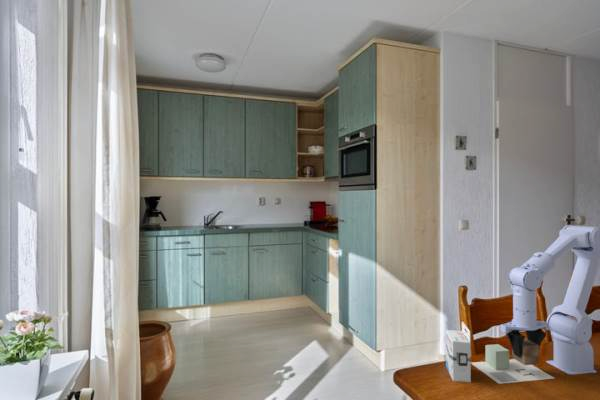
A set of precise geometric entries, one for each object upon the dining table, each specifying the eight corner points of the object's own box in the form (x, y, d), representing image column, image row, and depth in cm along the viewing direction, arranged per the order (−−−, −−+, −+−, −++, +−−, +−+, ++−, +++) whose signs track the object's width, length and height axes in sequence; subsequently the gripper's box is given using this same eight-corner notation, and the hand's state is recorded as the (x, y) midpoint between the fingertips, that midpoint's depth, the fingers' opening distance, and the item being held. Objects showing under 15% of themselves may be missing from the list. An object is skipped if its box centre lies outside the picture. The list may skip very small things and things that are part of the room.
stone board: (520, 359, 106) (520, 358, 106) (555, 379, 94) (555, 378, 94) (470, 364, 103) (470, 362, 103) (498, 385, 91) (498, 383, 91)
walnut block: (525, 356, 100) (525, 338, 100) (538, 364, 95) (538, 345, 95) (512, 357, 99) (512, 339, 99) (524, 365, 95) (524, 346, 95)
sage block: (498, 361, 104) (498, 344, 104) (509, 368, 99) (509, 350, 99) (485, 362, 103) (485, 345, 103) (496, 369, 99) (496, 351, 99)
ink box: (445, 367, 101) (445, 319, 101) (462, 368, 100) (462, 320, 100) (452, 382, 93) (452, 330, 93) (471, 384, 92) (471, 331, 92)
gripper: (534, 303, 102) (535, 347, 102) (492, 306, 100) (493, 350, 100) (555, 310, 95) (556, 357, 95) (510, 314, 93) (511, 361, 93)
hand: (525, 354), depth 97 cm, fingers closed on walnut block, 4 cm apart
